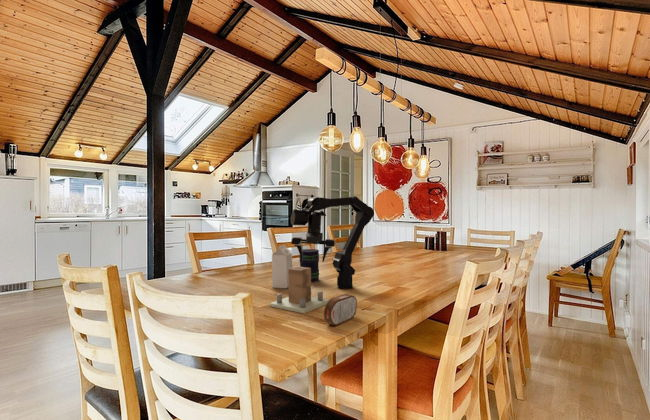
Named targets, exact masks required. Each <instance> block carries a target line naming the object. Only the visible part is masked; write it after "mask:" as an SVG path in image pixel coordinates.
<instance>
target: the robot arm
mask: <svg viewBox="0 0 650 420" xmlns="http://www.w3.org/2000/svg"><path fill="white" fill-rule="evenodd" d="M341 206H351V208H352V210H353V211H354V212H355V219H354V223H353V224H354V225H353V226H352V229H351V231H350V233H349V235H348V237H347V239H346V241H345V244H344V245H343V247H342V250H341V251H340V252H339V251H336V253H335V255H334V257H333V258H332V261H333V262H332V266H333V268H334V269H335V271H336V273H338V276H337V277H336V279H337V280H336V286H337V288H338V289H354V288H353V276H354V275H355V273H356V270H355V268H354V267H353V266H352V262H353V261H352V259H353V257H352V256H353V253H354V251H355V248H356V246H357V244H358V242H359V240H360V238H361V235H362V233H363V231H364V228H365V227H366V226H367V224H369V223H370V222H371V220H372V219H373V217H374V216H375V211H374V209H373V207H371V206H369V205H368V204H367V203H365V202H363V200H361V199H360V197H358V196H355V195H353V196H347V197H332V198H327V197H317V196H316V197H310V198H309V199H308V201H307V204H306V205H305V206H304V208H302V209H292V212H291V216H290V224H291V226H306V225H307V233H306V237H305V239H304V238H303V237H299V236H298V237H297V236H296V237H295V236H293V237H292V238H291V243H290V244H291V245H293V246H294V247H296V249H297V250H298V254H299V256H300V257H301V261H303V249H304V247H303V246H304V245H303V244H306V245H324V249H323V255H322V263H324V262H325V259H326V256H327V254H328V251H329V250H330V249H332V248H333V247H335V246H336V240H335V238H334V239H332V238H325V240H324V239H323V238H324V233H323V232H322V231H321V230H322V217H326V216H327V213H325V212H324V210H325V209H329V208H331V207H332V208H333V207H341Z"/></svg>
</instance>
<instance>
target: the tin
mask: <svg viewBox="0 0 650 420" xmlns="http://www.w3.org/2000/svg"><path fill="white" fill-rule="evenodd" d="M328 300H329V301H328V302H327V304H325V305H324V310H323V319H324V321H325V323H326V324H329V325H332V326H338V325H340V324H343V323H345V322H348V321H349V320H352V319H353V318H354V316H355V315H356V313H357V308H358V300H357V298H356V296H355V295H353V294H349V293H344V294H341V295H340V294H339V295H337V296H334V297H331V298H330V299H328Z"/></svg>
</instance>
